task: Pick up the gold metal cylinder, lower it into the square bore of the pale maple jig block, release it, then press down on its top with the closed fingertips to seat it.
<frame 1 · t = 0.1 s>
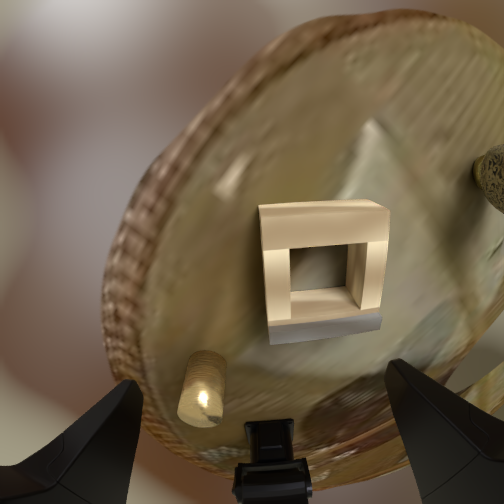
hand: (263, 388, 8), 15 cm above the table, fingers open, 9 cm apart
jig: (316, 260, 22), on the table
cup: (479, 171, 19), on the table
gold metal cylinder: (207, 364, 27), on the table
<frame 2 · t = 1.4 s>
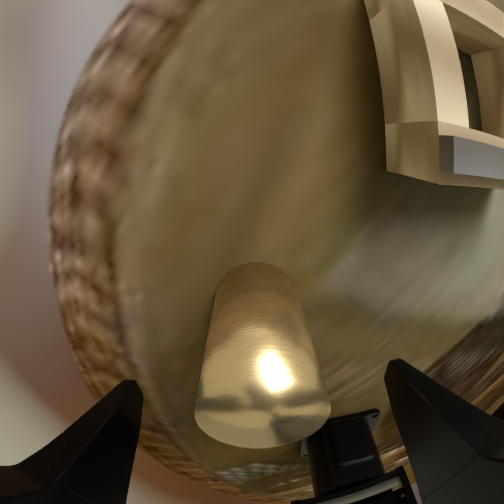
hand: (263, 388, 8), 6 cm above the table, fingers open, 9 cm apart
jig: (447, 85, 9), on the table
supplement bottle: (502, 406, 24), on the table
gold metal cylinder: (256, 299, 13), on the table
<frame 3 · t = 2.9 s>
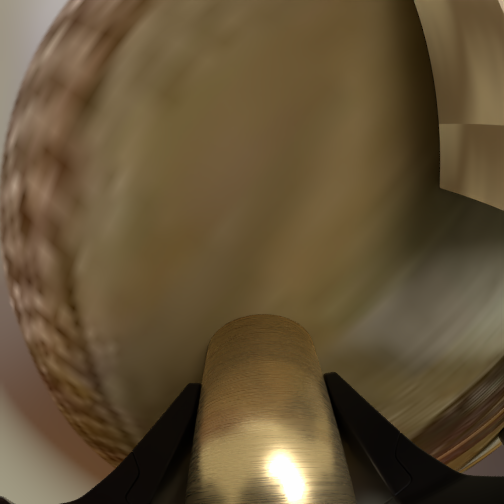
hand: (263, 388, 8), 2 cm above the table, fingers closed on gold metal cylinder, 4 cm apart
jig: (499, 81, 5), on the table
gold metal cylinder: (261, 357, 10), on the table, touching gripper
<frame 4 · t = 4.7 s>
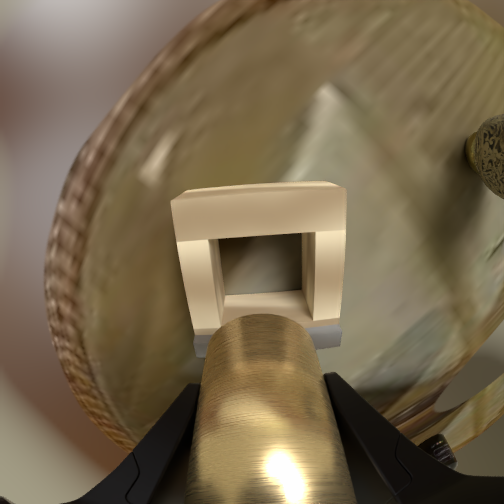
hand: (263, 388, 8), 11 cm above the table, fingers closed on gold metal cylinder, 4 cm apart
jig: (261, 257, 19), on the table
supplement bottle: (428, 442, 33), on the table
cup: (473, 152, 16), on the table
gold metal cylinder: (260, 356, 10), point 10 cm above the table, touching gripper
when the fingers open (4 cm above the table, at t = 6.9 s): gold metal cylinder drops 3 cm, resting in jig.
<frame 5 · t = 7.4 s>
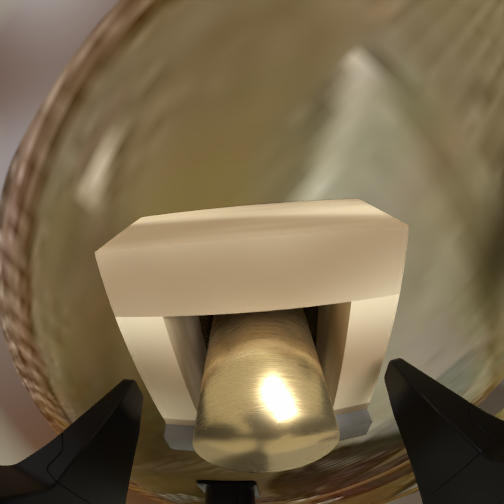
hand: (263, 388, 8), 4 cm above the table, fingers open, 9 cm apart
jig: (258, 313, 12), on the table
gold metal cylinder: (258, 312, 12), resting in jig
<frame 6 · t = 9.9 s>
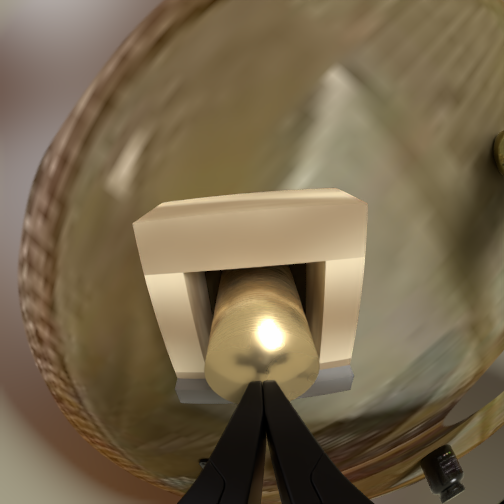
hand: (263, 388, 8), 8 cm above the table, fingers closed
jig: (256, 282, 15), on the table
supplement bottle: (434, 452, 30), on the table
cup: (500, 153, 12), on the table
gold metal cylinder: (256, 282, 15), resting in jig
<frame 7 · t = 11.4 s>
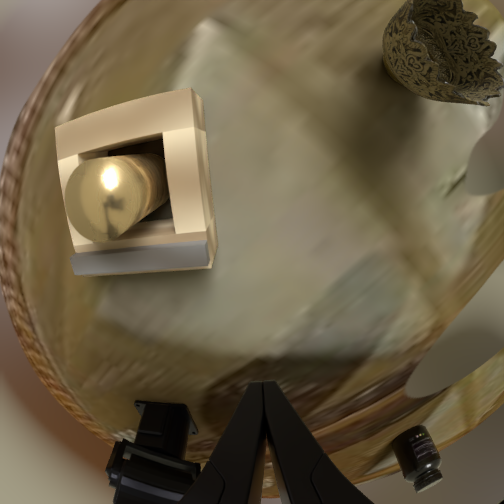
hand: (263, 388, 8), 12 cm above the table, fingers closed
jig: (146, 182, 17), on the table
supplement bottle: (408, 434, 32), on the table
cup: (398, 67, 14), on the table
gold metal cylinder: (146, 181, 17), resting in jig
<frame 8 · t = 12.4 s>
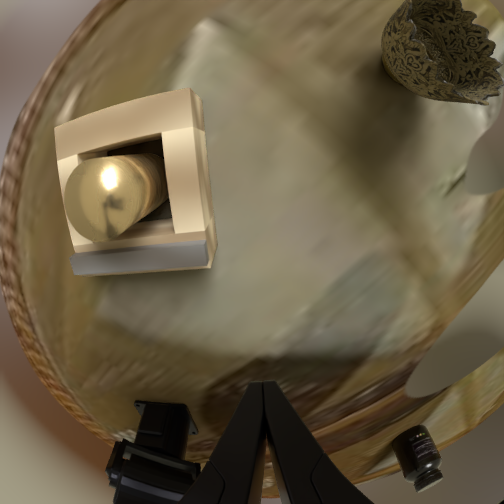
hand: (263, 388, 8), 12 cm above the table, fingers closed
jig: (146, 182, 17), on the table
supplement bottle: (408, 434, 32), on the table
cup: (397, 66, 14), on the table
gold metal cylinder: (146, 181, 17), resting in jig
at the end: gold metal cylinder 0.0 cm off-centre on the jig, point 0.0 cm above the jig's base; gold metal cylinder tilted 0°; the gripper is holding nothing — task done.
